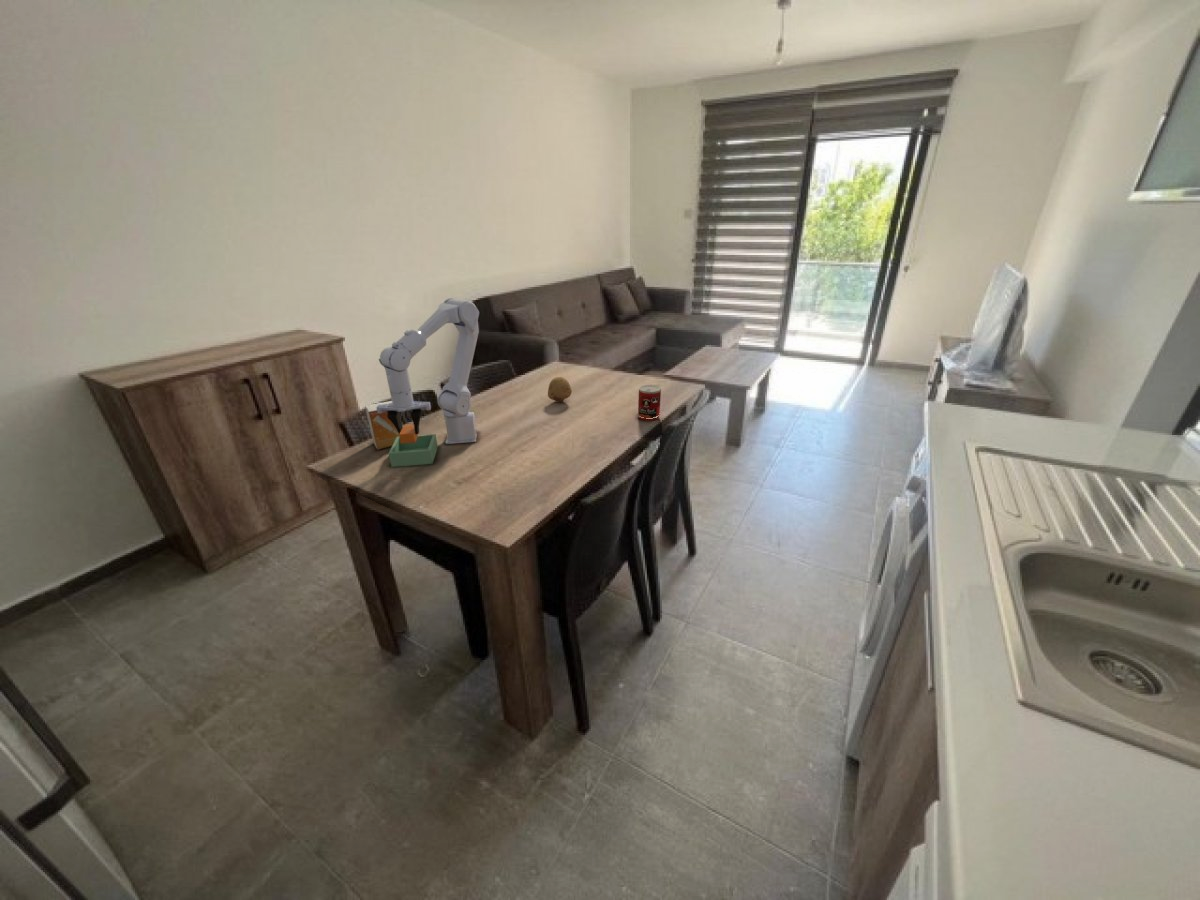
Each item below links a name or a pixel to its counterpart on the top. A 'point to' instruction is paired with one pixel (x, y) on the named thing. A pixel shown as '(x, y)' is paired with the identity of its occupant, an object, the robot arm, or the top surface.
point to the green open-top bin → (414, 451)
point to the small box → (381, 427)
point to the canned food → (649, 402)
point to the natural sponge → (559, 389)
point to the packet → (408, 434)
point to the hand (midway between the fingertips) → (409, 433)
